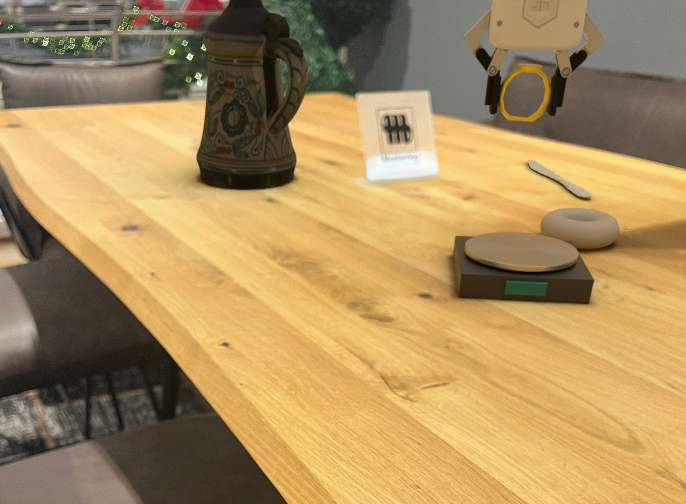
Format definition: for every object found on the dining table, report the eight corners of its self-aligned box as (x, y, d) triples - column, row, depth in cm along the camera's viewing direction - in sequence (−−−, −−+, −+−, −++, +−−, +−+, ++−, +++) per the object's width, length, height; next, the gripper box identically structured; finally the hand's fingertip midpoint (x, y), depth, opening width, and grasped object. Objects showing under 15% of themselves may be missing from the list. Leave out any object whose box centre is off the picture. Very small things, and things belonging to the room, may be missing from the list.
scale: (567, 261, 94) (572, 237, 92) (589, 304, 82) (595, 278, 80) (452, 256, 95) (455, 232, 93) (458, 298, 83) (461, 272, 81)
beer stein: (215, 164, 135) (205, -4, 121) (322, 170, 132) (325, -2, 118) (183, 186, 122) (168, 0, 108) (302, 194, 119) (302, 3, 105)
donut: (533, 248, 98) (615, 256, 95) (537, 221, 96) (621, 228, 93) (542, 227, 106) (618, 234, 103) (546, 202, 104) (623, 207, 101)
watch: (498, 123, 90) (506, 65, 87) (492, 119, 93) (499, 63, 89) (548, 123, 90) (557, 65, 87) (541, 119, 93) (550, 63, 89)
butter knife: (576, 195, 117) (595, 194, 118) (521, 160, 139) (537, 159, 140) (576, 199, 118) (594, 198, 118) (520, 163, 140) (536, 162, 140)
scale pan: (567, 239, 91) (568, 234, 91) (587, 274, 81) (588, 269, 81) (461, 234, 92) (462, 229, 92) (467, 269, 82) (468, 263, 82)
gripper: (468, -77, 78) (449, 116, 89) (642, -76, 77) (601, 121, 87) (465, -74, 84) (447, 106, 95) (626, -74, 83) (590, 110, 93)
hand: (521, 111), depth 91 cm, fingers closed on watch, 6 cm apart
